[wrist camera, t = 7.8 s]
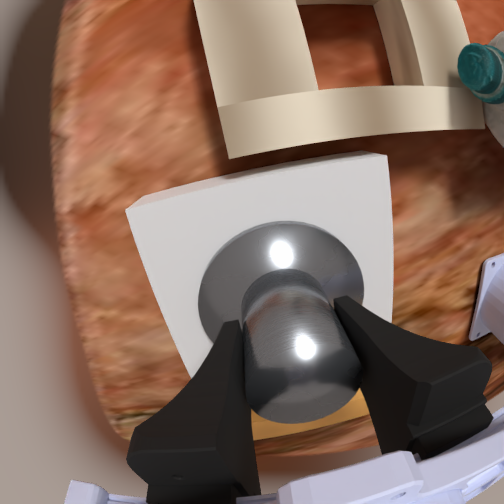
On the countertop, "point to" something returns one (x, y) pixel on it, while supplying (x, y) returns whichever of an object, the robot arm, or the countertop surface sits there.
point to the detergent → (486, 80)
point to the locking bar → (273, 429)
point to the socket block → (256, 213)
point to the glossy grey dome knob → (287, 317)
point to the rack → (332, 100)
